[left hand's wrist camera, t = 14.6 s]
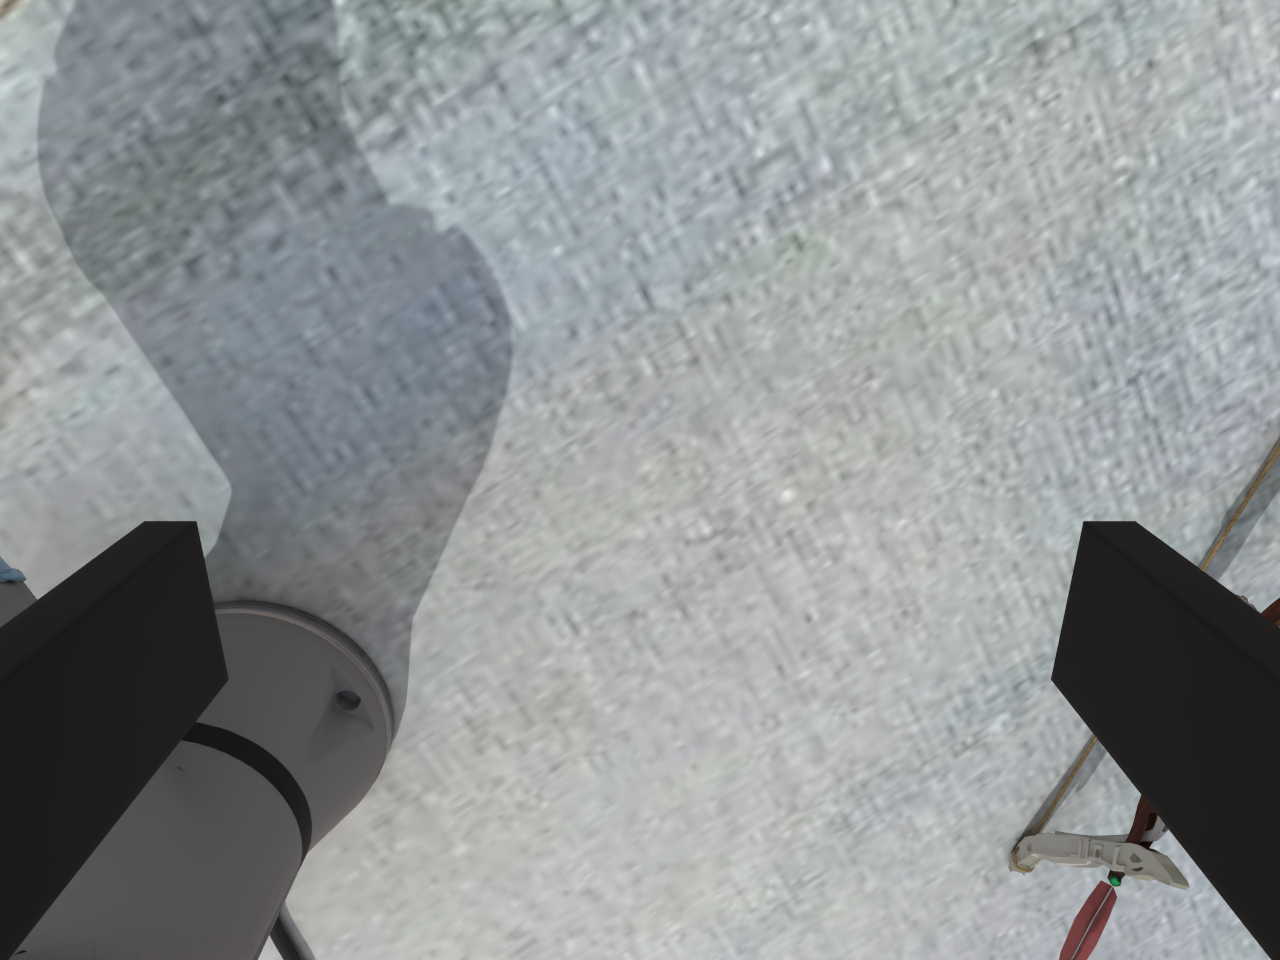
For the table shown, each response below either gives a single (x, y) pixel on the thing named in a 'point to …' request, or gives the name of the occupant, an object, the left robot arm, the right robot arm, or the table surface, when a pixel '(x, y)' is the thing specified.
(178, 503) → the table surface
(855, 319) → the table surface
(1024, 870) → the bow
